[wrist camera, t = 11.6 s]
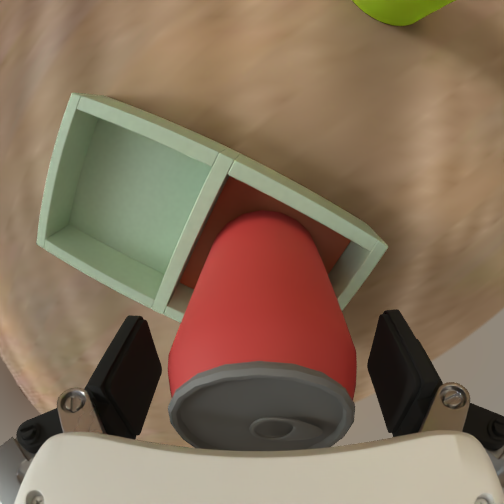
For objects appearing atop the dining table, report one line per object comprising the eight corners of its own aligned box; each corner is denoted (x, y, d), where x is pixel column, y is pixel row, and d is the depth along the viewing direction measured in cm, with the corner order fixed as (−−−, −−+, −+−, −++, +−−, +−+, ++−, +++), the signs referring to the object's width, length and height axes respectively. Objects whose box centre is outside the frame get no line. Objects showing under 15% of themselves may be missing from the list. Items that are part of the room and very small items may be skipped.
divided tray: (65, 225, 19) (35, 244, 16) (104, 95, 15) (71, 92, 12) (290, 334, 22) (294, 369, 18) (367, 224, 18) (389, 246, 15)
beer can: (296, 312, 20) (316, 475, 9) (202, 288, 19) (150, 449, 8) (331, 224, 17) (416, 373, 6) (224, 194, 17) (154, 323, 6)
